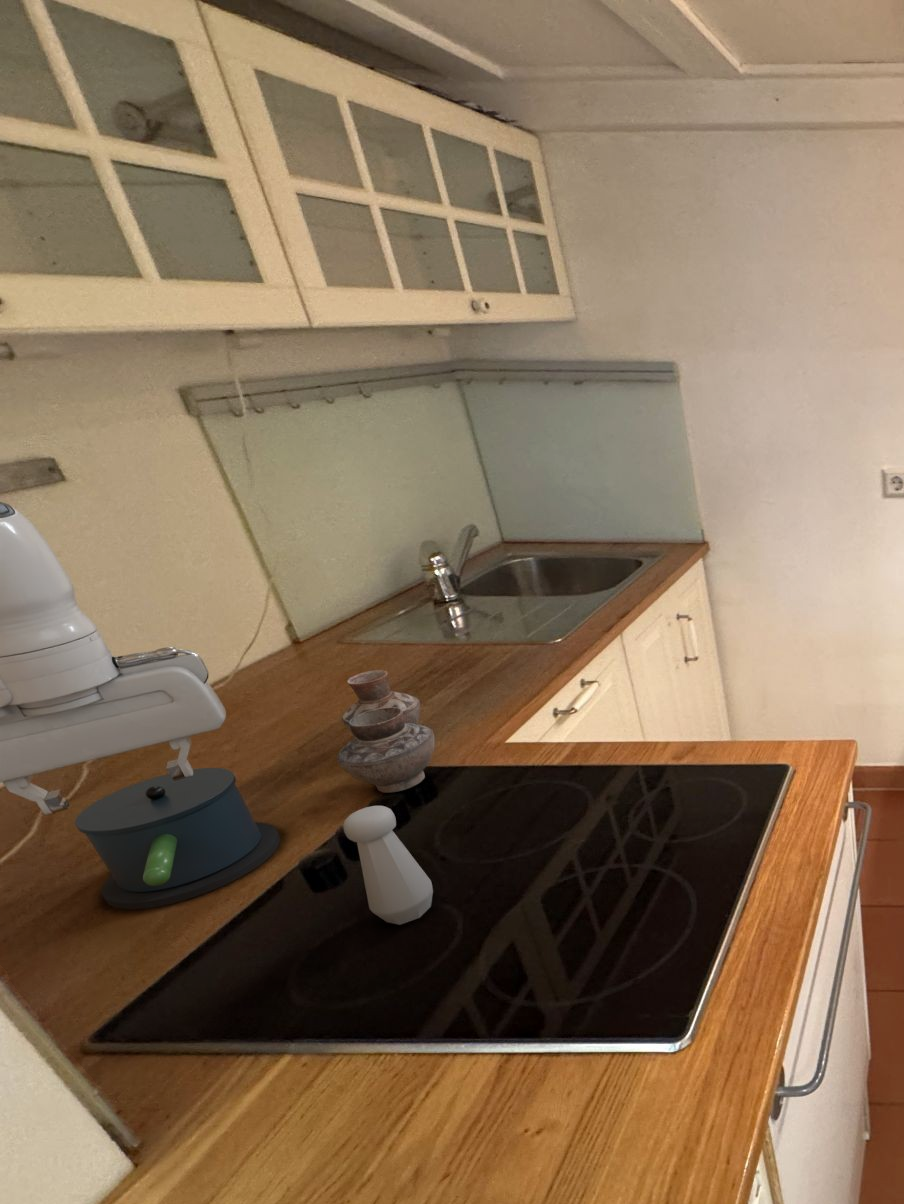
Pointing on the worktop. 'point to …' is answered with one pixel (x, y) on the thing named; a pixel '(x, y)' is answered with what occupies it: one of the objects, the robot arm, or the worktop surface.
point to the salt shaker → (388, 867)
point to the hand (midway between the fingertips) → (123, 792)
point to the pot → (170, 829)
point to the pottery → (385, 735)
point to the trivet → (198, 887)
